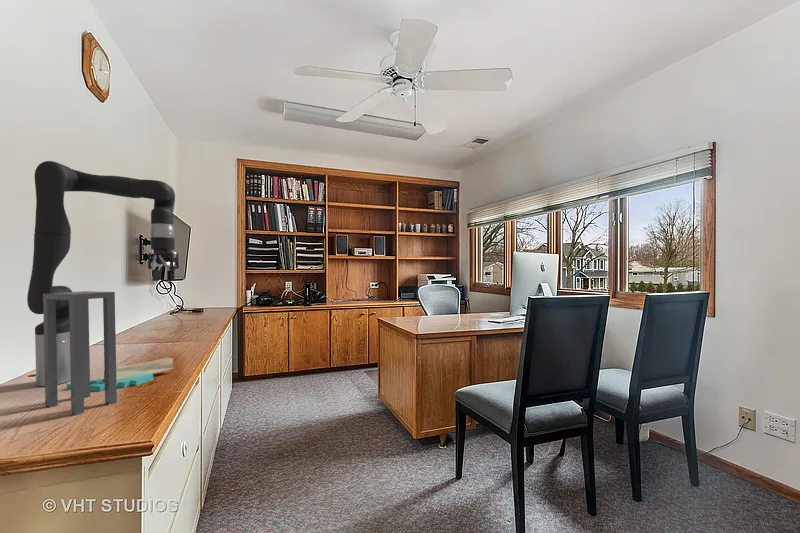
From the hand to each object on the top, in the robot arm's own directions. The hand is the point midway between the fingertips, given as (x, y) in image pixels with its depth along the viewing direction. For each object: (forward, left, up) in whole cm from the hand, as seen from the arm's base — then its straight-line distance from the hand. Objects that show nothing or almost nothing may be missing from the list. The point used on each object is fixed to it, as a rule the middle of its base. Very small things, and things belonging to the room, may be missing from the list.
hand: (163, 281), depth 140 cm
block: (-1, -8, -32) cm, 33 cm away
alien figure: (-5, -12, -35) cm, 37 cm away
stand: (+9, -30, -34) cm, 46 cm away
